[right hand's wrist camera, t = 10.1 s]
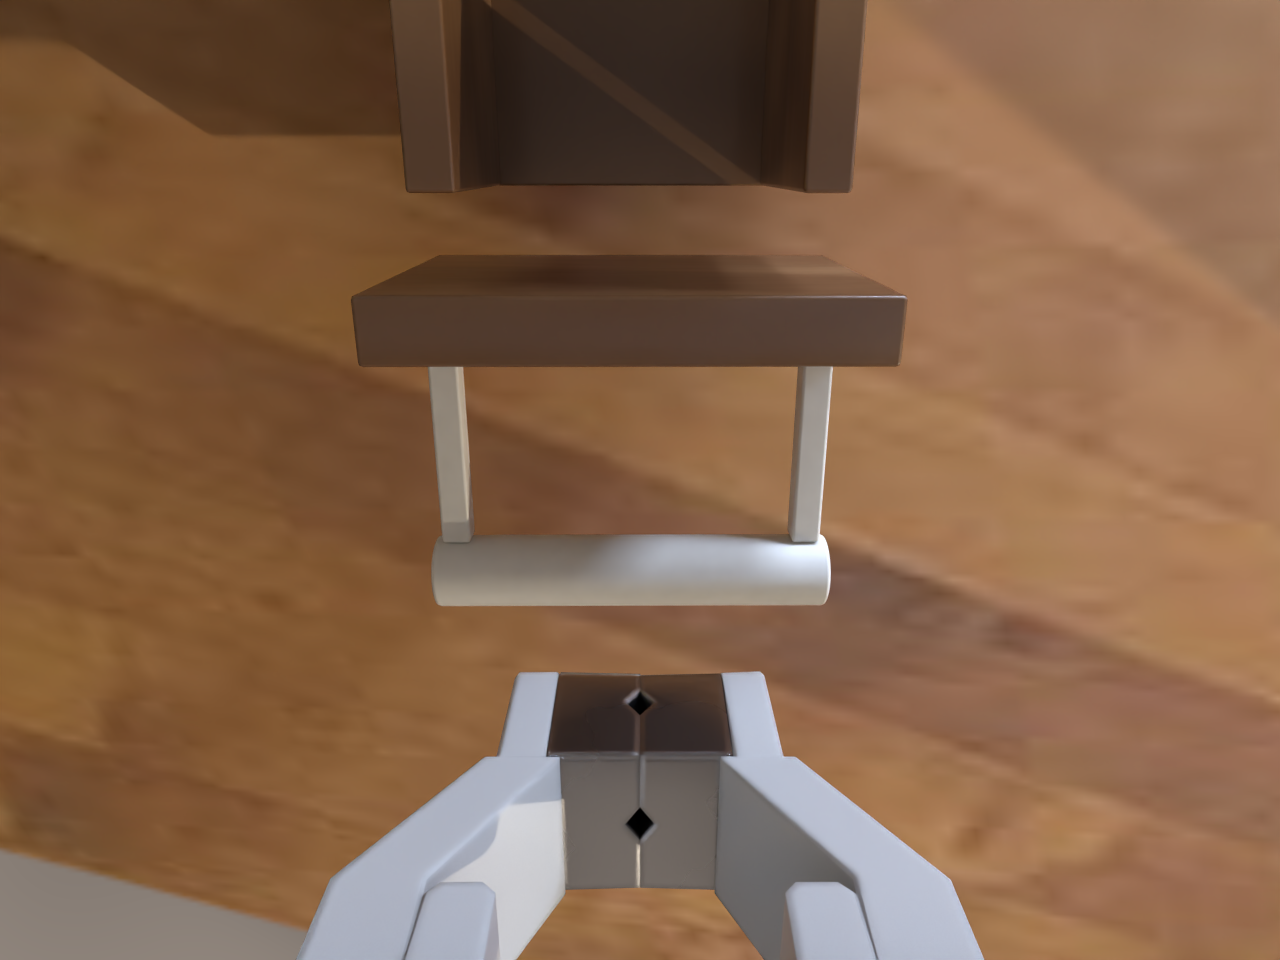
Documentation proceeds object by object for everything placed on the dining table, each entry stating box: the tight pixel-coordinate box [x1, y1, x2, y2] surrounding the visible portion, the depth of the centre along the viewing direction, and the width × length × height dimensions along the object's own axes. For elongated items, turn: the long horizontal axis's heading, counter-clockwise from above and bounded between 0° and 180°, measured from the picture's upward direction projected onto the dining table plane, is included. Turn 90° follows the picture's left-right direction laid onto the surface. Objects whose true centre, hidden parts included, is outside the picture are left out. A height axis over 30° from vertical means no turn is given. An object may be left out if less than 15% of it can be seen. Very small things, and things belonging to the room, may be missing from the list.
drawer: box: [351, 0, 907, 606], centre depth 16 cm, size 23×9×7 cm, turn 0°
